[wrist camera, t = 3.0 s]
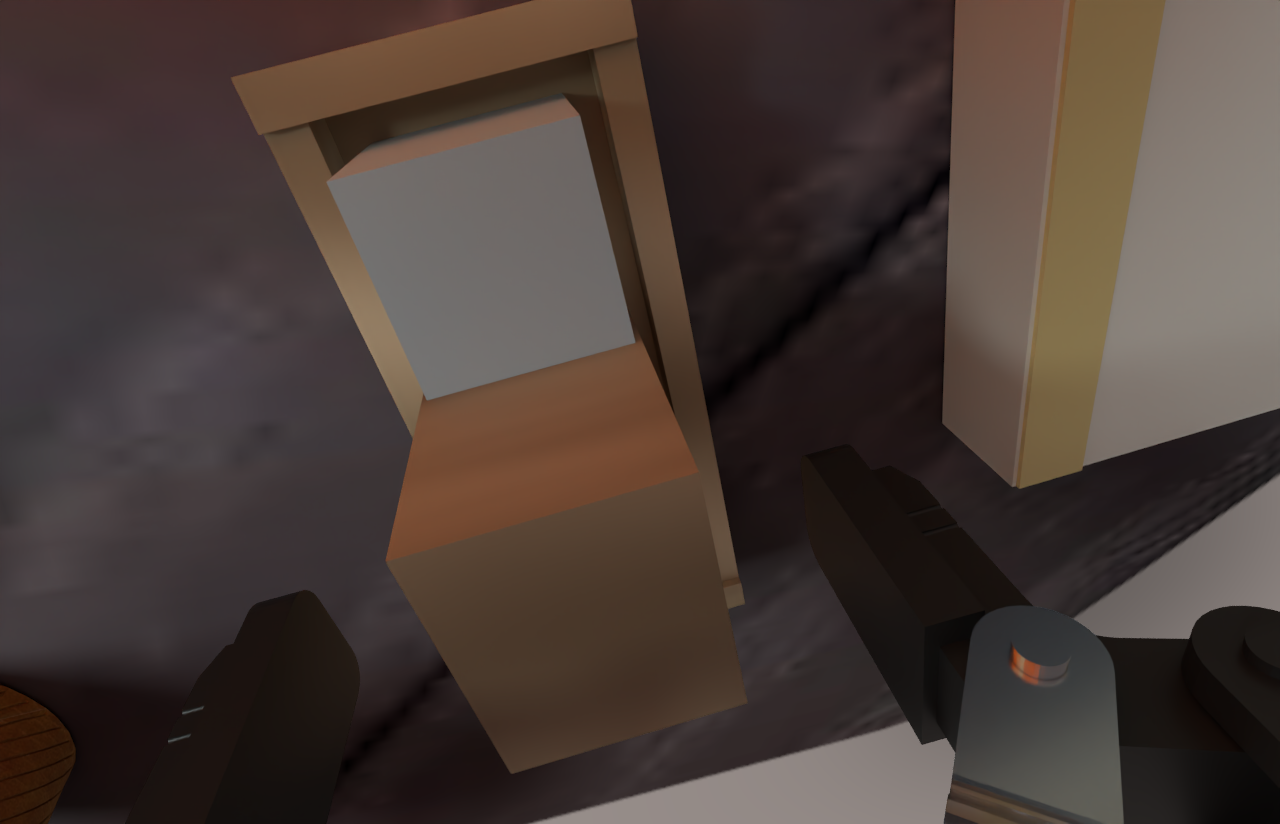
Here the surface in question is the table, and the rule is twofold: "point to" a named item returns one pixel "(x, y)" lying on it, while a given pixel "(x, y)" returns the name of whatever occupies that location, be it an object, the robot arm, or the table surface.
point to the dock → (1110, 227)
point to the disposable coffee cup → (31, 759)
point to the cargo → (487, 244)
